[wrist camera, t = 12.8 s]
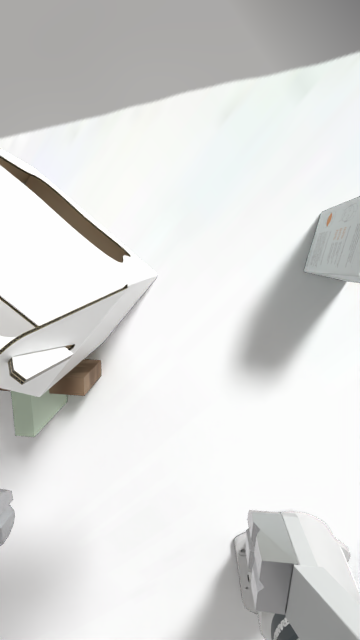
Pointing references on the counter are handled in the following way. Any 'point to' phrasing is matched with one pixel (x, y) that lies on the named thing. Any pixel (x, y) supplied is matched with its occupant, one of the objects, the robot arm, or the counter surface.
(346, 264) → the small box
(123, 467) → the counter surface
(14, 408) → the crosspiece
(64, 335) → the gable box
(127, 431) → the counter surface
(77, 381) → the upright
